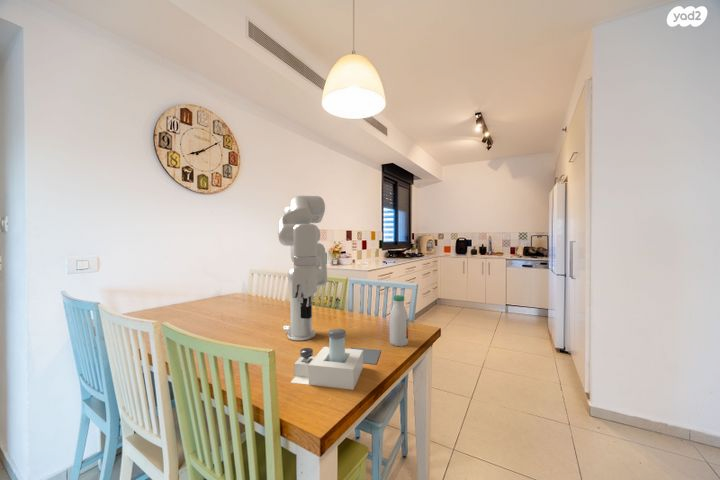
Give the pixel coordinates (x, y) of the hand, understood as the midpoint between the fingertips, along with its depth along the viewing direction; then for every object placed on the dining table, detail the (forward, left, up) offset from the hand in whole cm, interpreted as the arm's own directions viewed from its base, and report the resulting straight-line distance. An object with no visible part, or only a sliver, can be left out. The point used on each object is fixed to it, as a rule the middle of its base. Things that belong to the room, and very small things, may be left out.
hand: (306, 317), depth 94 cm
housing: (+7, 0, -19) cm, 21 cm away
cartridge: (+10, 0, -18) cm, 21 cm away
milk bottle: (+27, +33, -19) cm, 47 cm away
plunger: (0, 0, -17) cm, 17 cm away
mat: (+15, +16, -19) cm, 30 cm away
